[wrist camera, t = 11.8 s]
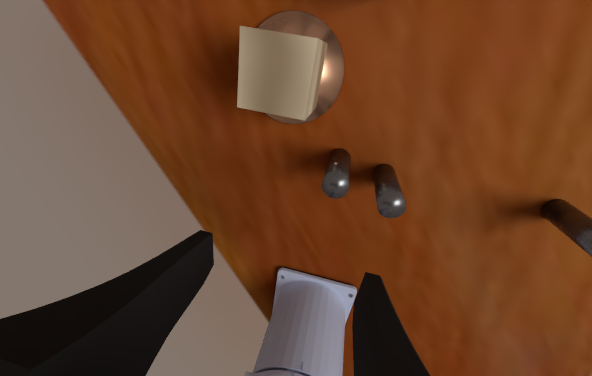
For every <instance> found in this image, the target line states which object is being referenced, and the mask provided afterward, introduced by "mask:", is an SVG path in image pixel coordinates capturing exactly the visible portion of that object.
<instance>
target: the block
mask: <svg viewBox="0 0 592 376" xmlns="http://www.w3.org/2000/svg"><path fill="white" fill-rule="evenodd" d="M326 49H327V43H326V42H324V41H322V40H320V39H318V38H313V37H307V36H301V35H294V34H288V33H282V32H276V31H269V30H263V29H257V28H250V27H244V26H240V42H239V71H238V100H237V107H239V108H244V109H249V110H254V111H259V112H264V113H269V114H274V115H279V116H284V117H289V118H294V119H299V120H304V121H305V120H306V119H307V117H308V116H309V115H310V114H311V113H312V112H313V110H314V109H315V108H316V105H317V99H318V94H319V88H320V83H321V77H322V71H323V66H324V60H325V55H326Z"/></svg>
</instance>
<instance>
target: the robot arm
mask: <svg viewBox="0 0 592 376" xmlns="http://www.w3.org/2000/svg"><path fill="white" fill-rule="evenodd" d="M213 265H214V260H213V236H212V233H210V232H206V231H202V230H200V231H198V232H197V233H195V234H193V235H192V236H190V237H188V238H187V239H185V240H184V241H182V242H180V243H179V244H177V245H175V246H174V247H172V248H170V249H169V250H167V251H165V252H163V253H162V254H160V255H159V256H157V257H155V258H153V259H151V260H150V261H148V262H146V263H144V264H142V265H140V266H138V267H137V268H135V269H133V270H131V271H129V272H127V273H125V274H123V275H121V276H118V277H116V278H114V279H112V280H110V281H107V282H105V283H103V284H101V285H98V286H96V287H94V288H91V289H88V290H86V291H83V292H81V293H78V294H76V295H73V296H70V297H68V298H65V299H62V300H59V301H57V302H54V303H51V304H48V305H45V306H42V307H39V308H36V309H33V310H30V311H26V312H23V313H20V314H16V315H13V316H9V317H6V318H2V319H0V376H145V375H146V374H147V372H148V370H149V368H150V366H151V364H152V363H153V361H154V359H155V357H156V355H157V354H158V352H159V350H160V349H161V347H162V345H163V343H164V342H165V340H166V338H167V337H168V335H169V333H170V332H171V330H172V329H173V327H174V326H175V324H176V323H177V321H178V320H179V318H180V317H181V316H182V314H183V313H184V311H185V310H186V308H187V307H188V306H189V304H190V303H191V301H192V300H193V298H194V297H195V296H196V294H197V293H198V291H199V290H200V288H201V287H202V285H203V284H204V281H205V280H206V278H207V276H208V275H209V272H210V270H211V269H212V267H213ZM281 275H282V276H281ZM356 293H357V289H356V288H355V287H354V286H351V285H347V284H343V283H340V282H336V281H332V280H328V279H325V278H321V277H317V276H313V275H309V274H306V273H302V272H298V271H294V270H291V269H287V268H280V269H279V271H278V275H277V282H276V289H275V296H274V303H273V311H272V316H271V319H270V322H269V325H268V328H267V331H266V334H265V337H264V340H263V343H262V346H261V349H260V352H259V355H258V358H257V361H256V364H255V367H254V370H253V373H252V372H246V373H245V376H342V372H343V350H344V328H345V324H346V321H347V318H348V315H349V313H350V310H351V307H352V304H353V302H354V299H355V296H356ZM352 327H353V359H354V376H430V374H429V373H428V371H427V370H426V368H425V366H424V365H423V363H422V361H421V359H420V358H419V356H418V354H417V352H416V351H415V349H414V347H413V345H412V343H411V342H410V340H409V338H408V336H407V334H406V332H405V330H404V328H403V326H402V324H401V322H400V320H399V318H398V316H397V314H396V312H395V309H394V307H393V305H392V303H391V300H390V298H389V296H388V293H387V291H386V288H385V286H384V283H383V281H382V278H381V277H380V276H379V275H375V274H371V273H367V272H366V273H365V275H364V278H363V280H362V283H361V286H360V288H359V291H358V294H357V296H356V299H355V302H354V311H353V325H352Z"/></svg>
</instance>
